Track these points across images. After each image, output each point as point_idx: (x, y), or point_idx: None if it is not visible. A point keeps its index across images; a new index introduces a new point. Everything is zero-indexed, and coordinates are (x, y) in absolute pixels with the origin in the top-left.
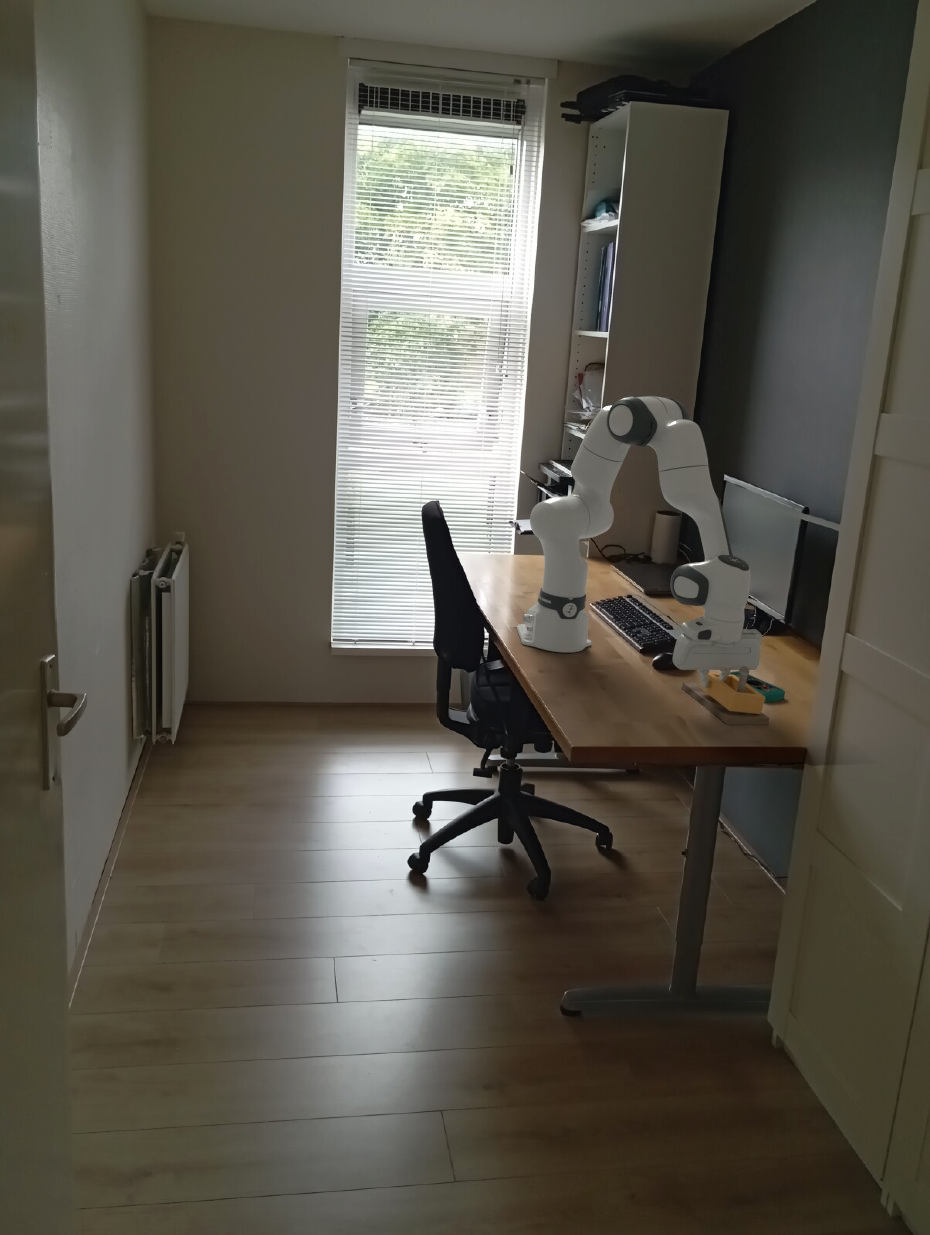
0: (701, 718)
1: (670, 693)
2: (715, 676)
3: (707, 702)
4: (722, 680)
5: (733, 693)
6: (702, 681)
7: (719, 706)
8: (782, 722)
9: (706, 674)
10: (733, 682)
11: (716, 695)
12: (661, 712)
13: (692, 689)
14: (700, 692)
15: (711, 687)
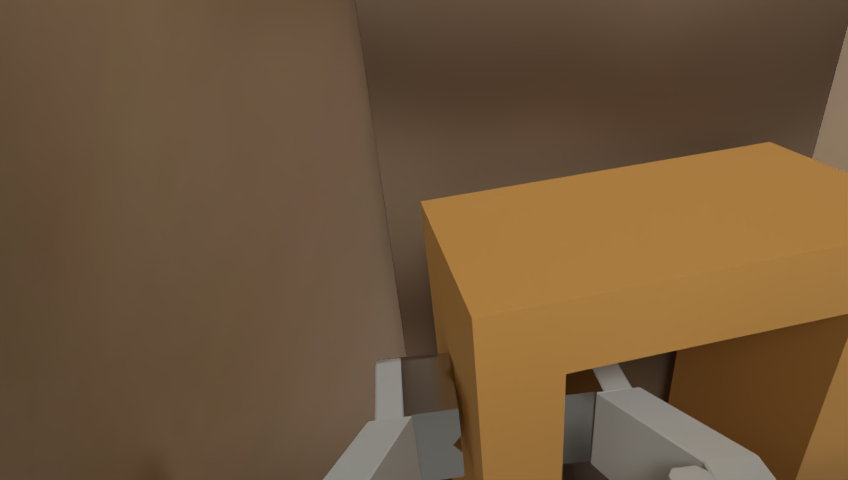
0: (305, 477)
1: (153, 15)
2: (554, 445)
3: None
4: (605, 466)
5: None
6: (378, 399)
7: None
8: None
9: (471, 362)
10: (789, 337)
11: (457, 477)
12: (32, 431)
13: (377, 79)
14: (437, 162)
15: None
